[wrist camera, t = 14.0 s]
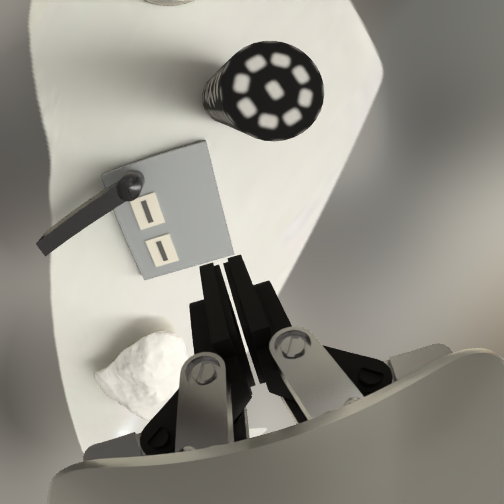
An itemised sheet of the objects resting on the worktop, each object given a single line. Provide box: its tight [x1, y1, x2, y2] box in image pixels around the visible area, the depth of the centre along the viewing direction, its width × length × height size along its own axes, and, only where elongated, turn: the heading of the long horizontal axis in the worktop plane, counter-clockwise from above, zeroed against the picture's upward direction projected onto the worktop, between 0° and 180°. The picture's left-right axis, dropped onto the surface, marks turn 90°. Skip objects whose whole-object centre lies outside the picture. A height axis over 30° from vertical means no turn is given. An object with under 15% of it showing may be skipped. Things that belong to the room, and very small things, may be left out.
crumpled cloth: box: [94, 331, 188, 420], centre depth 54 cm, size 24×35×9 cm
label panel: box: [101, 140, 234, 280], centre depth 40 cm, size 19×16×3 cm
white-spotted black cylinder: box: [202, 41, 324, 141], centre depth 27 cm, size 8×8×20 cm
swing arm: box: [36, 169, 145, 256], centre depth 33 cm, size 19×3×4 cm, turn 112°
